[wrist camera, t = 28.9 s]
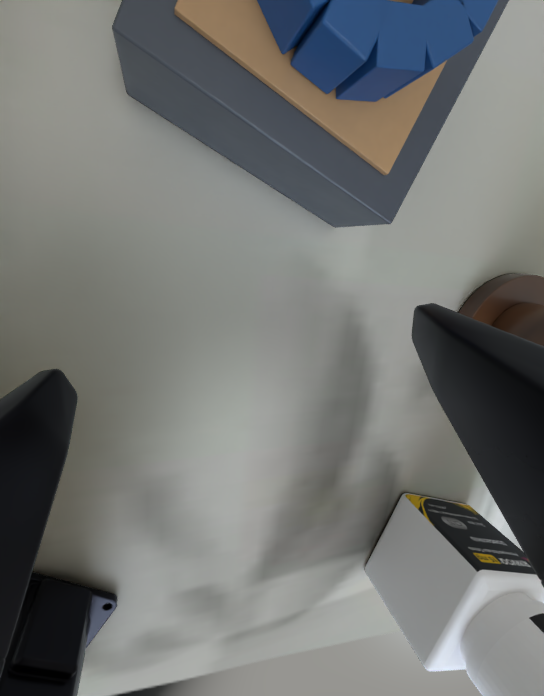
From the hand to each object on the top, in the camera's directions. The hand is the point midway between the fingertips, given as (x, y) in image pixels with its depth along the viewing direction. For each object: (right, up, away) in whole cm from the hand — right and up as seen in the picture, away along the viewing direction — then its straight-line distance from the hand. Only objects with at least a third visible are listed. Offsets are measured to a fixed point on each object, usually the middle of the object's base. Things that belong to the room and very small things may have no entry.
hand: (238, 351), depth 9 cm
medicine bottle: (+12, -15, +19) cm, 27 cm away
